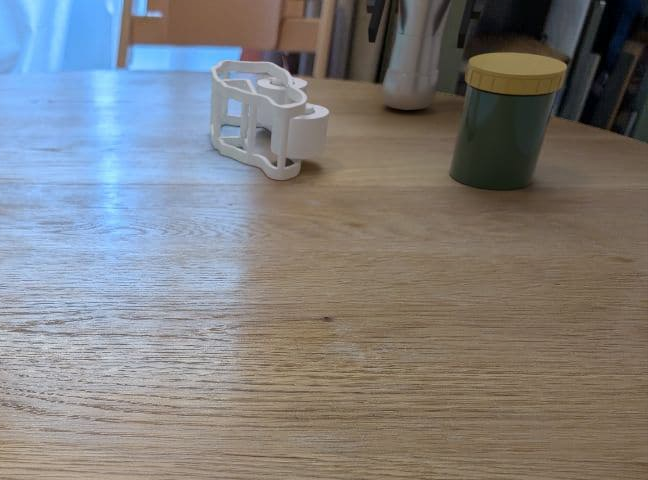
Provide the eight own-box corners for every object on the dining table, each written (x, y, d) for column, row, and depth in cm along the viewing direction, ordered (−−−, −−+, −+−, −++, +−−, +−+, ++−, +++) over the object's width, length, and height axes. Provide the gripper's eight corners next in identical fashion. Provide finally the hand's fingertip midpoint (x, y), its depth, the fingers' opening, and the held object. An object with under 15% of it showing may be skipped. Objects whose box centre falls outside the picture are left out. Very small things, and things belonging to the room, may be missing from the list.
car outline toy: (331, 178, 87) (340, 106, 83) (224, 181, 87) (228, 109, 83) (294, 120, 104) (300, 57, 99) (204, 123, 104) (206, 60, 100)
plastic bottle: (368, 104, 108) (395, -75, 97) (414, 98, 110) (446, -79, 98) (397, 118, 103) (428, -69, 92) (445, 112, 105) (482, -73, 93)
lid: (559, 74, 83) (564, 55, 82) (564, 98, 77) (570, 77, 76) (465, 69, 86) (469, 50, 85) (463, 91, 80) (467, 71, 78)
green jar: (531, 166, 89) (559, 61, 83) (534, 193, 83) (564, 82, 76) (450, 159, 91) (472, 56, 85) (447, 185, 85) (470, 76, 79)
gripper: (553, -107, 101) (512, 64, 99) (366, -108, 109) (323, 50, 106) (565, -158, 94) (521, 24, 92) (364, -155, 102) (318, 13, 100)
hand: (415, 38), depth 99 cm, fingers open, 9 cm apart
